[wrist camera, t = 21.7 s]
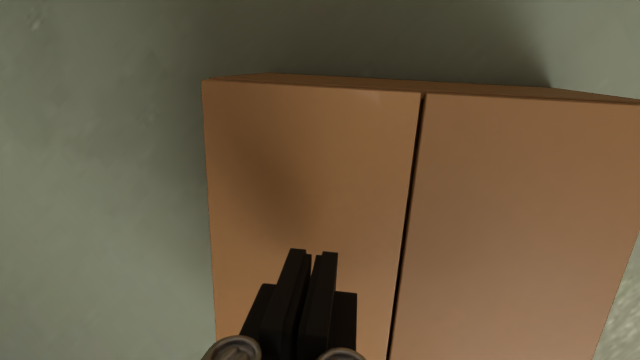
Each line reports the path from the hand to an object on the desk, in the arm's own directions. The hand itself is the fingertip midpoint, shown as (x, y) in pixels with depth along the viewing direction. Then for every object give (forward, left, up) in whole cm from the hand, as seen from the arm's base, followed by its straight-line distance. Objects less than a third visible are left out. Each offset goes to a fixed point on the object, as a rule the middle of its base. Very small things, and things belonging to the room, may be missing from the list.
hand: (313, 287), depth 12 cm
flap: (-1, 0, -2) cm, 2 cm away
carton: (+3, 0, -11) cm, 11 cm away
